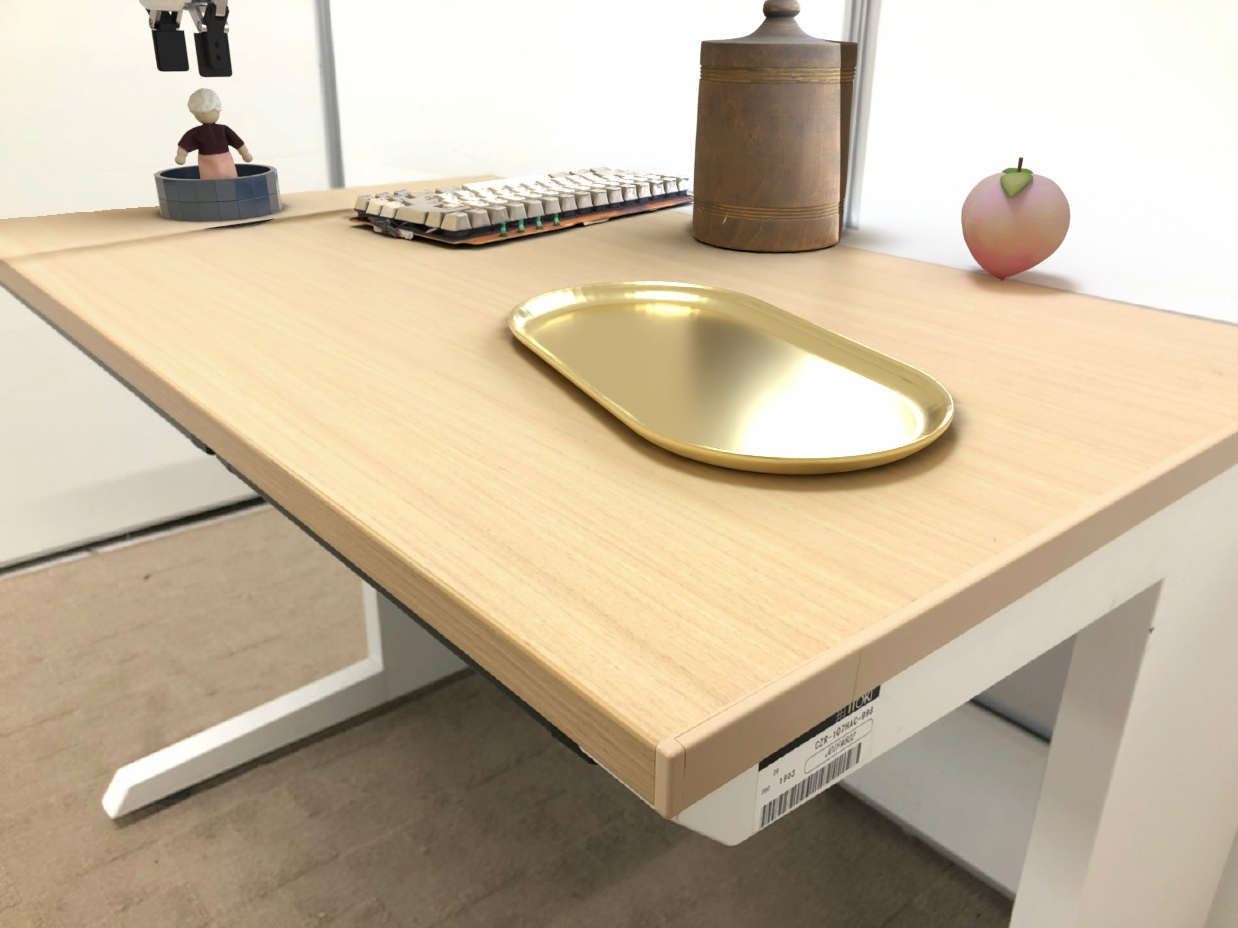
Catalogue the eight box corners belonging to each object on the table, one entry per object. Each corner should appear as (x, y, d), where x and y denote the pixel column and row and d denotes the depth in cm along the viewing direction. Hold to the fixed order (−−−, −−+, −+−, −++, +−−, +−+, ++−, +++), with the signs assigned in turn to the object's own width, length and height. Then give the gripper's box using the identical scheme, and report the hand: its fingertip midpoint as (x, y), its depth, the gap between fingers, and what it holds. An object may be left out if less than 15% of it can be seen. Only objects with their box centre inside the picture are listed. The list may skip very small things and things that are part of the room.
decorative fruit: (1067, 297, 79) (1093, 167, 75) (960, 291, 80) (979, 164, 76) (1045, 270, 87) (1067, 151, 83) (949, 265, 89) (965, 148, 84)
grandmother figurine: (247, 206, 111) (229, 85, 106) (263, 210, 109) (245, 87, 103) (179, 215, 106) (156, 89, 101) (194, 220, 104) (172, 91, 98)
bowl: (143, 218, 107) (134, 171, 105) (249, 204, 115) (243, 160, 113) (193, 235, 100) (184, 184, 98) (303, 218, 108) (297, 171, 106)
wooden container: (822, 222, 106) (842, -4, 97) (857, 253, 93) (883, -6, 84) (685, 223, 106) (692, -4, 97) (699, 254, 93) (709, -7, 83)
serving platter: (695, 290, 80) (696, 271, 79) (1028, 447, 51) (1033, 418, 51) (473, 318, 73) (472, 297, 72) (716, 519, 44) (718, 487, 43)
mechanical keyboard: (587, 184, 129) (587, 158, 128) (704, 203, 118) (705, 174, 117) (341, 228, 104) (338, 195, 102) (461, 257, 92) (459, 220, 91)
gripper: (92, -118, 97) (123, 70, 104) (167, -130, 86) (196, 80, 93) (168, -109, 102) (193, 69, 109) (248, -120, 91) (270, 78, 98)
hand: (194, 74), depth 101 cm, fingers open, 9 cm apart
